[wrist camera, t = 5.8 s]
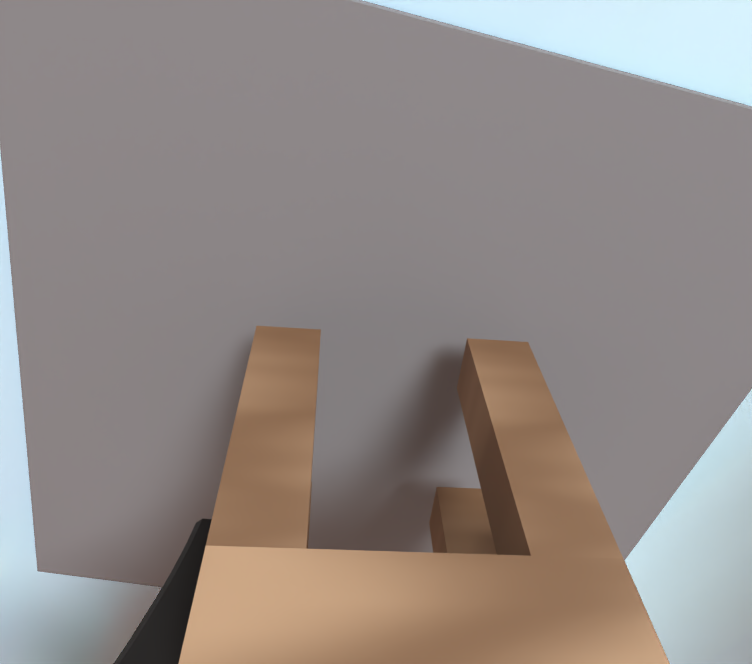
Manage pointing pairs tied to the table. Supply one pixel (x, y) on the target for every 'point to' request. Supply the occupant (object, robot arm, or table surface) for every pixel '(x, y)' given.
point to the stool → (414, 569)
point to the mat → (351, 260)
